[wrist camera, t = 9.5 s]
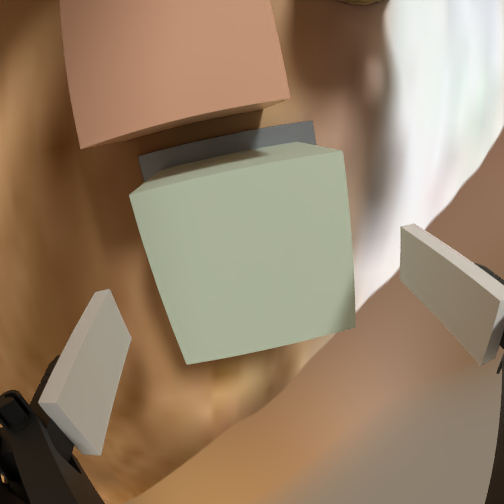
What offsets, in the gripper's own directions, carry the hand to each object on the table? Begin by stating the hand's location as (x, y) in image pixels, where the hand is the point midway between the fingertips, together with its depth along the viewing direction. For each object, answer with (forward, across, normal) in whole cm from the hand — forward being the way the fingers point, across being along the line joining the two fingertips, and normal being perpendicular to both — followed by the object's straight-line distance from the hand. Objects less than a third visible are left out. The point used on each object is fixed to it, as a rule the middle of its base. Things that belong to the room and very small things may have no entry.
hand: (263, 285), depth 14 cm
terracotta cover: (+12, -2, +12) cm, 17 cm away
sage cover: (+12, 0, -1) cm, 12 cm away
